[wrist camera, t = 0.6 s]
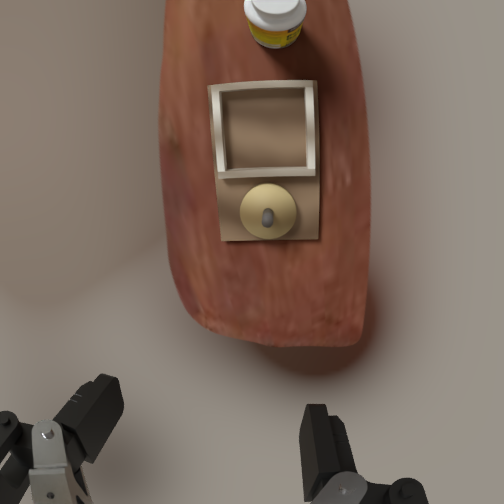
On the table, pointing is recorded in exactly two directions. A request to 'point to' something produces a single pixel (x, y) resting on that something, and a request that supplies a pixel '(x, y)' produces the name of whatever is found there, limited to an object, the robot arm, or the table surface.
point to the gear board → (266, 159)
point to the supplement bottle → (275, 21)
